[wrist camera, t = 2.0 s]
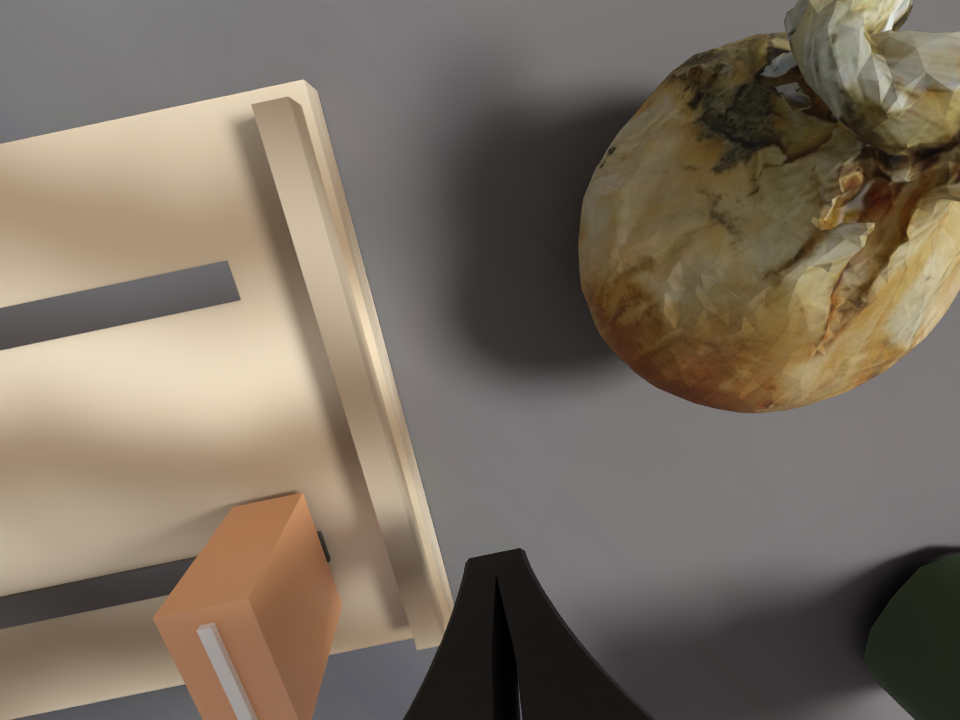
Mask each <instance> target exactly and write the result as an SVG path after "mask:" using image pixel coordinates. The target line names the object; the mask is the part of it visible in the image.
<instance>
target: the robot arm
mask: <svg viewBox="0 0 960 720" xmlns="http://www.w3.org/2000/svg"><path fill="white" fill-rule="evenodd" d="M518 683H519V689H518ZM519 692H520V701H521V710H522V719H523V720H655V719H654V718H653V717H652V716H651V715H650V714H648V713H647V712H646V711H645V710H644V709H643V708H642V707H641V706H640V705H639V704H638V703H637V702H635V701H634V700H633V699H632V698H631V697H630V696H629V695H628V694H627V693H626V692H625V691H624V690H623V689H622V688H621V687H620V686H619V685H618V684H617V683H616V682H615V681H614V680H613V679H612V678H611V677H610V676H609V675H608V673H607V672H606V671H605V670H604V669H603V668H602V667H601V666H600V665H599V663H598V662H597V661H596V660H595V659H594V658H593V657H592V656H591V654H590V653H589V652H588V651H587V650H586V648H585V647H584V646H583V645H582V643H581V642H580V641H579V640H578V638H577V637H576V636H575V635H574V633H573V632H572V631H571V629H570V628H569V627H568V625H567V624H566V623H565V621H564V620H563V619H562V617H561V616H560V614H559V613H558V611H557V610H556V608H555V607H554V605H553V604H552V602H551V601H550V599H549V598H548V596H547V595H546V593H545V592H544V590H543V588H542V587H541V585H540V583H539V581H538V579H537V578H536V576H535V574H534V572H533V570H532V568H531V566H530V563H529V561H528V558H527V555H526V552H525V551H524V550H522V549H521V548H518V549H513V550H508V551H503V552H498V553H493V554H488V555H484V556H479V557H474V558H469V559H468V561H467V562H466V563H465V569H464V574H463V578H462V582H461V585H460V589H459V592H458V596H457V599H456V602H455V605H454V608H453V611H452V614H451V616H450V619H449V622H448V625H447V628H446V630H445V633H444V636H443V638H442V640H441V643H440V645H439V647H438V650H437V652H436V654H435V657H434V659H433V661H432V664H431V666H430V668H429V670H428V673H427V675H426V677H425V679H424V681H423V683H422V685H421V687H420V689H419V691H418V693H417V695H416V697H415V699H414V701H413V702H412V704H411V706H410V708H409V710H408V712H407V714H406V715H405V717H404V719H403V720H520V705H519Z"/></svg>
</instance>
